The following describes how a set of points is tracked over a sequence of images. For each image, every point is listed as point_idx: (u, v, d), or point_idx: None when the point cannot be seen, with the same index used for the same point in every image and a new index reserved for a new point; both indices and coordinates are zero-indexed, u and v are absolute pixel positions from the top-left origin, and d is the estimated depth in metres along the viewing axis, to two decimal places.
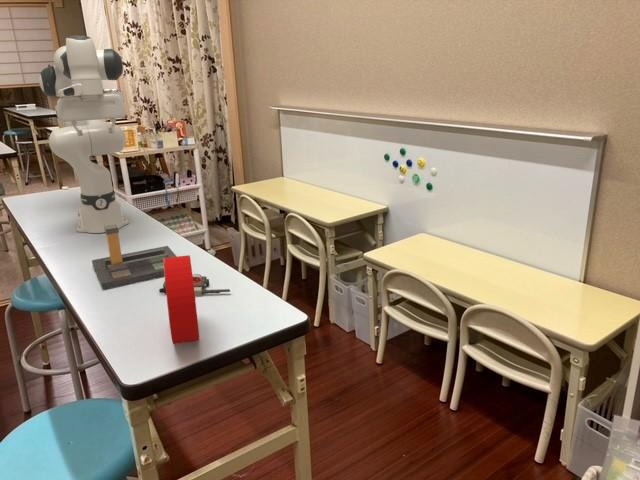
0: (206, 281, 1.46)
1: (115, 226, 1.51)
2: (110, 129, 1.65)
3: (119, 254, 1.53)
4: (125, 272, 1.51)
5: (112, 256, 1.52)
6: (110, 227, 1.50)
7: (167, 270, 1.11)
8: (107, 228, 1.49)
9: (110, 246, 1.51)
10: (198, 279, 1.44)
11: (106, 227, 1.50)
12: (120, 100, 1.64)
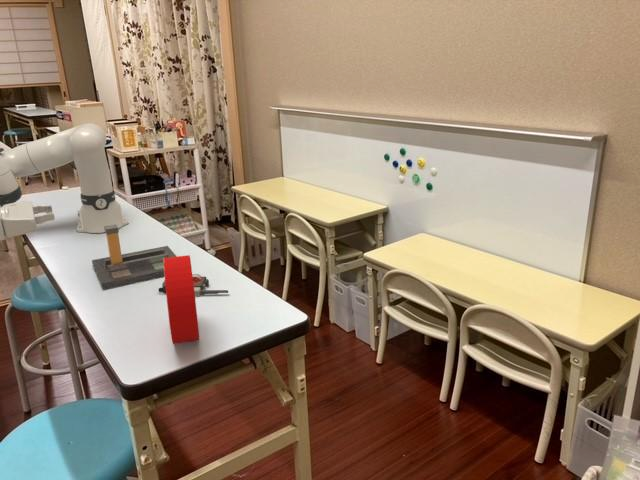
0: (205, 281, 1.46)
1: (115, 226, 1.51)
2: (46, 206, 1.44)
3: (119, 254, 1.53)
4: (125, 272, 1.51)
5: (112, 256, 1.52)
6: (110, 227, 1.50)
7: (167, 270, 1.11)
8: (107, 228, 1.49)
9: (110, 246, 1.51)
10: (197, 279, 1.44)
11: (106, 227, 1.50)
12: (9, 203, 1.43)
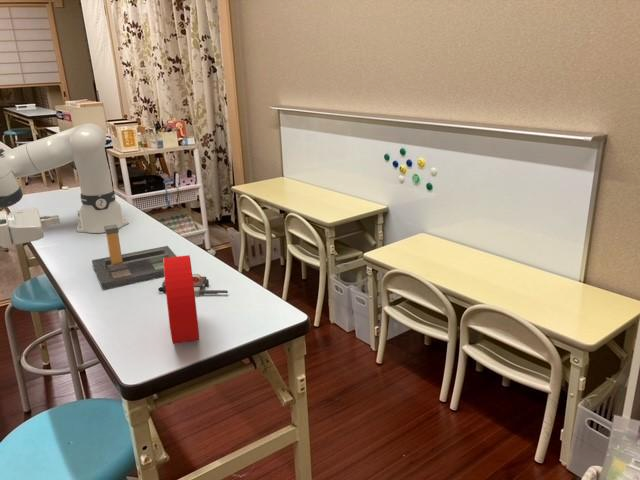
0: (205, 281, 1.46)
1: (115, 226, 1.51)
2: (53, 216, 1.42)
3: (119, 254, 1.53)
4: (125, 272, 1.51)
5: (112, 256, 1.52)
6: (110, 227, 1.50)
7: (167, 270, 1.11)
8: (107, 228, 1.49)
9: (110, 246, 1.51)
10: (197, 279, 1.44)
11: (106, 227, 1.50)
12: None
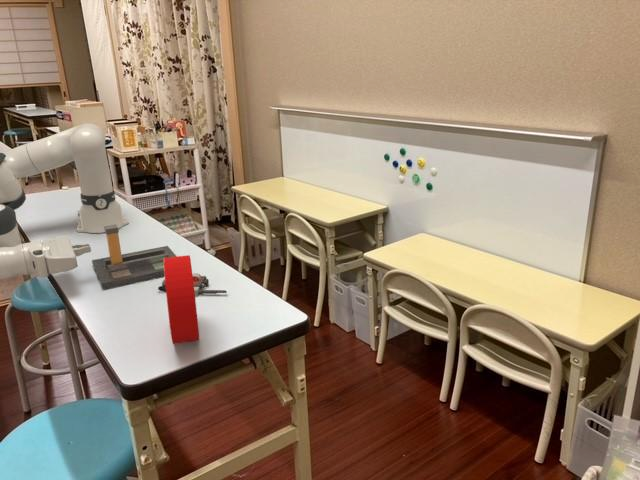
0: (205, 281, 1.46)
1: (115, 226, 1.51)
2: (84, 245, 1.49)
3: (119, 254, 1.53)
4: (125, 272, 1.51)
5: (112, 256, 1.52)
6: (110, 227, 1.50)
7: (167, 270, 1.11)
8: (107, 228, 1.49)
9: (110, 246, 1.51)
10: (196, 279, 1.44)
11: (106, 227, 1.50)
12: (48, 239, 1.51)
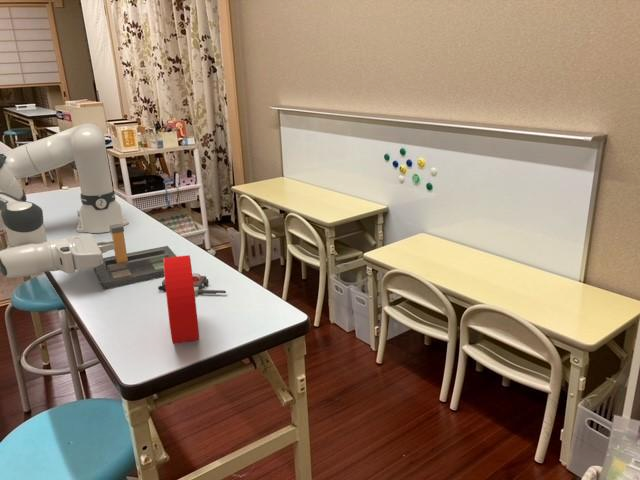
0: (205, 281, 1.46)
1: (120, 225, 1.52)
2: (109, 242, 1.51)
3: (124, 253, 1.54)
4: (125, 272, 1.51)
5: (117, 255, 1.53)
6: (115, 226, 1.51)
7: (167, 270, 1.11)
8: (112, 227, 1.50)
9: (115, 245, 1.52)
10: (196, 279, 1.44)
11: (111, 226, 1.51)
12: (73, 236, 1.53)
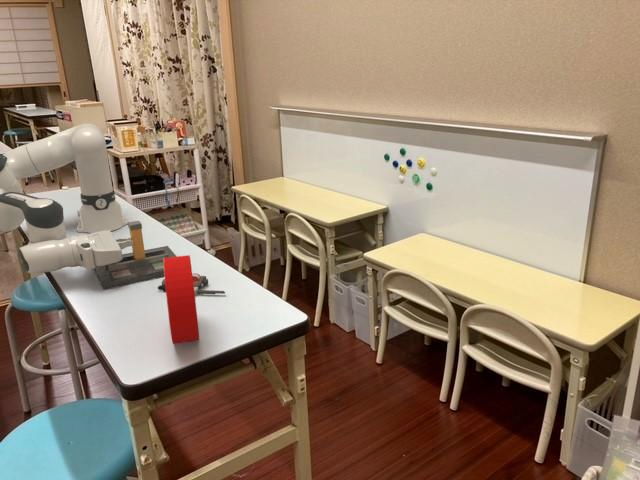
0: (204, 281, 1.46)
1: (138, 222, 1.54)
2: (127, 239, 1.54)
3: (142, 250, 1.56)
4: (125, 272, 1.51)
5: (135, 251, 1.55)
6: (133, 223, 1.53)
7: (167, 270, 1.11)
8: (131, 224, 1.53)
9: (134, 242, 1.54)
10: (196, 279, 1.44)
11: (130, 223, 1.53)
12: (91, 233, 1.56)
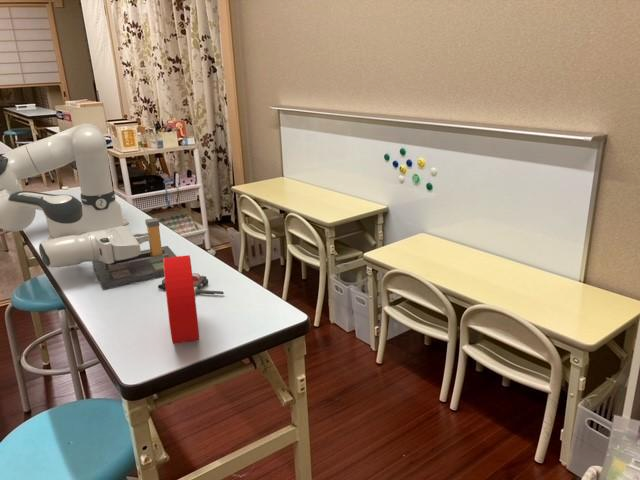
0: (204, 281, 1.46)
1: (156, 219, 1.57)
2: (144, 234, 1.57)
3: (159, 246, 1.59)
4: (125, 272, 1.51)
5: (153, 248, 1.58)
6: (151, 220, 1.56)
7: (167, 270, 1.11)
8: (149, 221, 1.55)
9: (151, 239, 1.57)
10: (195, 278, 1.44)
11: (147, 220, 1.56)
12: (109, 228, 1.59)
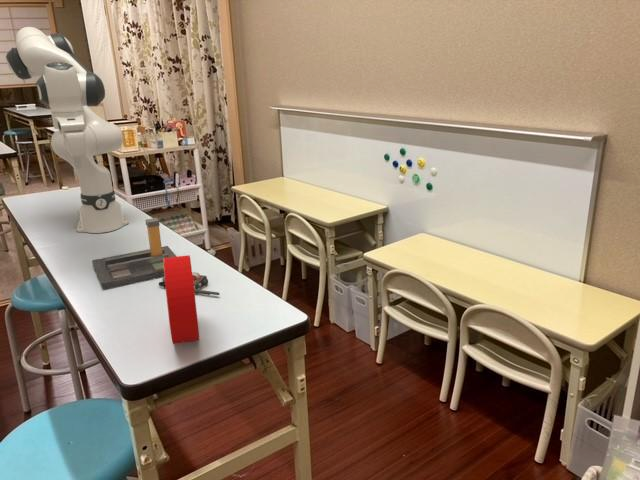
0: (204, 281, 1.46)
1: (156, 219, 1.57)
2: None
3: (159, 246, 1.59)
4: (125, 272, 1.51)
5: (153, 248, 1.58)
6: (151, 220, 1.56)
7: (167, 270, 1.11)
8: (149, 221, 1.55)
9: (151, 239, 1.57)
10: (194, 278, 1.45)
11: (147, 220, 1.56)
12: None
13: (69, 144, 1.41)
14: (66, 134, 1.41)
